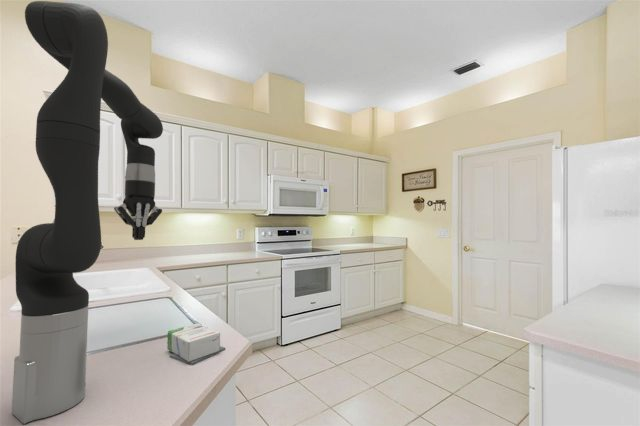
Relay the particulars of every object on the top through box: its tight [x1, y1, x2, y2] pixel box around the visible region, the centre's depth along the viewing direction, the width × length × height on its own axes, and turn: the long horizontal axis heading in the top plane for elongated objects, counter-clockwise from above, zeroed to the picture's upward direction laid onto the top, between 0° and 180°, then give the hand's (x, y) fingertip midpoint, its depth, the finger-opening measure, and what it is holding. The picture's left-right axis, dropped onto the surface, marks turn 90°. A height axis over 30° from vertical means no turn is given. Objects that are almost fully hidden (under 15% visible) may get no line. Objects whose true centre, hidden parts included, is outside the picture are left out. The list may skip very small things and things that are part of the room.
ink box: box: [167, 322, 221, 362], centre depth 75 cm, size 8×5×12 cm
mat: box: [169, 345, 226, 366], centre depth 74 cm, size 10×9×1 cm
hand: (138, 239), depth 84 cm, fingers closed
